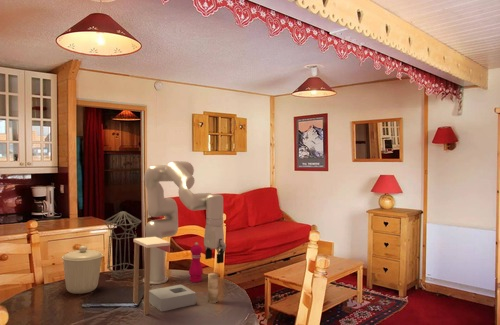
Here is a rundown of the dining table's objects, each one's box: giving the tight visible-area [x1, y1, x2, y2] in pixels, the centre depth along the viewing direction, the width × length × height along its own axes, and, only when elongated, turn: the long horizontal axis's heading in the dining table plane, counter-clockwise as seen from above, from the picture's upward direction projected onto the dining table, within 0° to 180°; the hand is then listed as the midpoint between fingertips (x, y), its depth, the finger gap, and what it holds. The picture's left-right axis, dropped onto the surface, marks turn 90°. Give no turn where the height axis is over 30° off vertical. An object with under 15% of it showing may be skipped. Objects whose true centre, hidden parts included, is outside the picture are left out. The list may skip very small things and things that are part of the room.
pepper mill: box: [188, 241, 204, 283], centre depth 206 cm, size 7×7×20 cm
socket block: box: [149, 284, 197, 313], centre depth 172 cm, size 14×16×5 cm
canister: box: [61, 245, 104, 295], centre depth 186 cm, size 18×18×21 cm
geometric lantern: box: [103, 210, 143, 280], centre depth 211 cm, size 16×16×35 cm
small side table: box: [132, 237, 171, 316], centre depth 166 cm, size 15×10×28 cm, turn 37°
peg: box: [207, 272, 219, 304], centre depth 175 cm, size 4×4×12 cm
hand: (214, 260), depth 175 cm, fingers open, 9 cm apart
